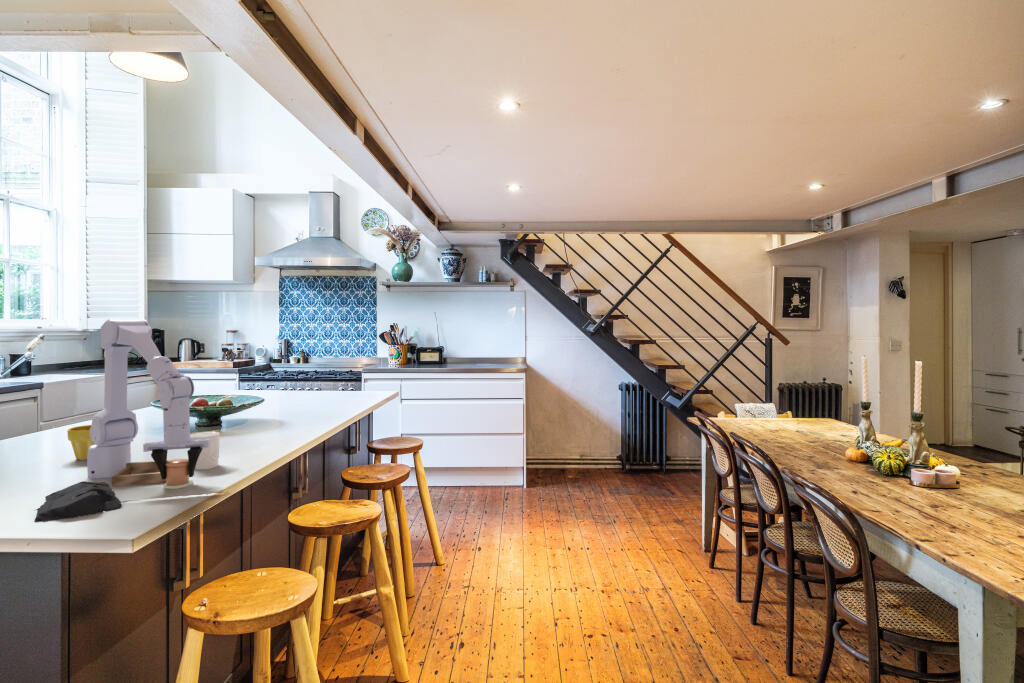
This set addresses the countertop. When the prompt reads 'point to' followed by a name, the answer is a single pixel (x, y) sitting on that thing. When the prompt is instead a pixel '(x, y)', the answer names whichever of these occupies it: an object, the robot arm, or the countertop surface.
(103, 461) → the robot arm
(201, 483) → the countertop surface
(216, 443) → the white cup
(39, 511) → the dark slate chunk
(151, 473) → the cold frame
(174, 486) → the saucer
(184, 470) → the tan bell-shaped knob
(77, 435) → the plant pot
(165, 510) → the countertop surface
